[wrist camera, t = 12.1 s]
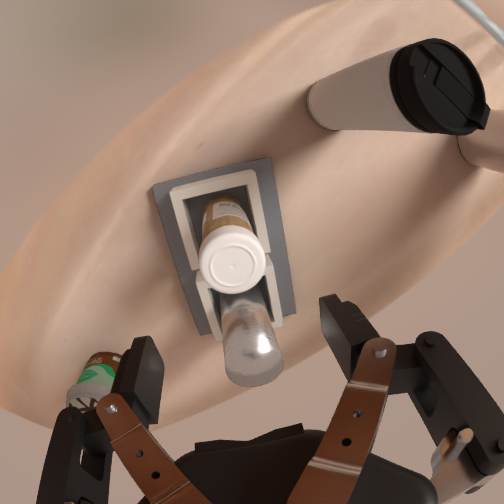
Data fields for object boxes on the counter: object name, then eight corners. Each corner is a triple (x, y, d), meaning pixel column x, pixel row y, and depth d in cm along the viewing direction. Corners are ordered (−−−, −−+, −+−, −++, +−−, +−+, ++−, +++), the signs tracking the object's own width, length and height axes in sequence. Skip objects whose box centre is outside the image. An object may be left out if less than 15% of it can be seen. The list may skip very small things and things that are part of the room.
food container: (105, 331, 36) (84, 381, 27) (137, 356, 39) (125, 407, 30) (70, 368, 38) (51, 411, 29) (99, 388, 41) (85, 433, 31)
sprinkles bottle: (195, 220, 31) (185, 275, 19) (218, 185, 30) (223, 220, 18) (229, 241, 33) (241, 307, 21) (253, 209, 32) (280, 257, 19)
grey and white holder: (269, 157, 31) (276, 160, 27) (294, 309, 39) (302, 326, 35) (153, 184, 30) (145, 191, 27) (200, 330, 38) (200, 350, 34)
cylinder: (256, 270, 35) (279, 340, 23) (263, 305, 37) (286, 379, 25) (214, 280, 34) (218, 354, 23) (224, 314, 36) (233, 391, 24)
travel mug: (344, 141, 31) (476, 161, 13) (296, 112, 29) (407, 90, 11) (365, 98, 29) (498, 87, 11) (319, 69, 28) (436, 15, 9)
